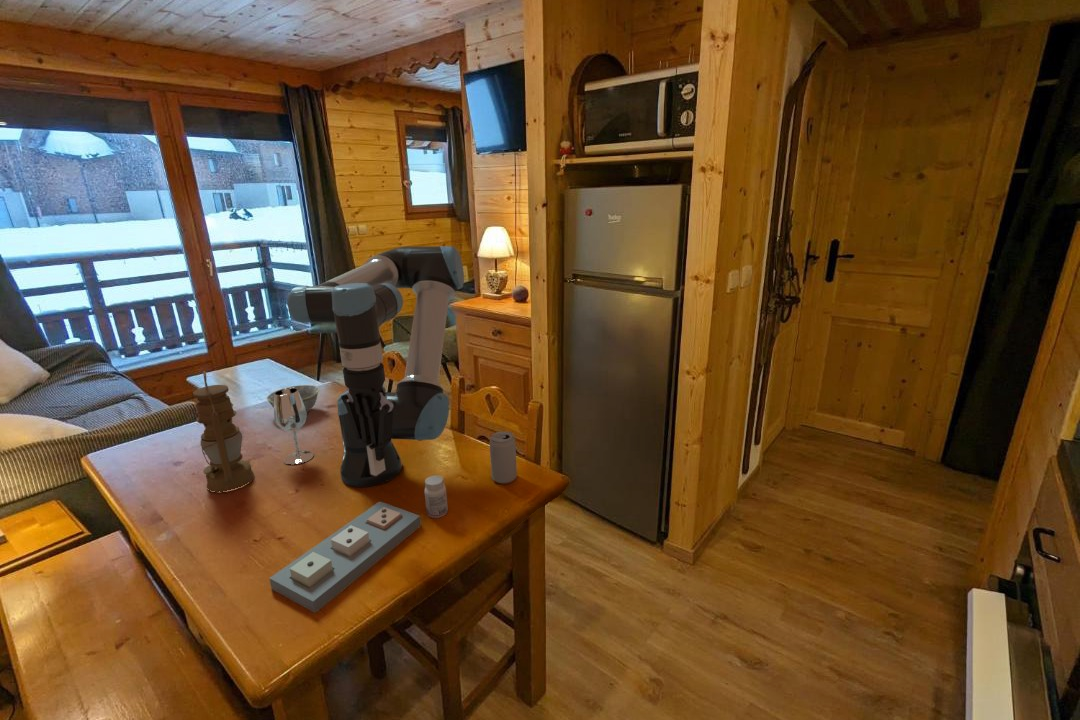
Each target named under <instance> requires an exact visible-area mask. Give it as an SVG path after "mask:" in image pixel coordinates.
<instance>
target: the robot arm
mask: <svg viewBox="0 0 1080 720" xmlns="http://www.w3.org/2000/svg"><path fill="white" fill-rule="evenodd" d="M464 273H465V272H464V266H463V261H462V258H461V254H460V252H459V250H458V249H457V248H456V247H454V246H446V245H444V246H443V245H440V246H434V245H433V246H409V245H408V246H400V247H395V248H392V249H389V250H386V251H383V252H380V253H378V254H375V255H373V256H371V257H369V258H368V259H367V260H366V261H365V263H364V264H363V265H361V266H359V267H357V268H353V269H351V270H349V271H346V272H345V273H343V274H340V275H338V276H336V277H333V278H331V279H329V280H327V281H325V282H321V283H320V284H317V285H313V286H308V285H304V286H296V287H293V288H292V289H291V290H290V291H289V294H288V295H287V299H286V301H287V302H286V303H287V309H288V313H289V315H290V317H291V318H292V319H293V320H294V321H296V322H298V323H310V324H317V323H320V324H321V323H324V324H329V323H330V324H331V323H332V324H333V323H334V324H335V329H336V333H337V338H338V347H339V351H340V352H339V354H340V359H341V365H342V366H343V368H342V373H343V380H344V385H345V387H346V388H347V389H348V390H346V391H344V392H343V393H341V395H339V396H338V398H337V402H336V404H337V415H338V421H339V427H340V431H341V439H342V443H343V456H342V462H341V465H340V470H339V471H340V477H341V482H343V483H344V484H346V485H348V486H350V487H354V488H369V487H373V486H374V487H376V486H378V485H379V486H380V485H381V484H384V483H387V482H389V481H390V480H392V479H395V477H397V476H398V475H399V474H400V472H401V470H402V460H401V457H400V454H399V453H398V451H397V449H396V447H395V445H394V443H393V440H413V441H416V440H417V441H419V442H420V441H428V440H429V441H433V440H436V439H438V438H439V437H440V436H441V435H442V433H443V432H444V430H445V428H446V425H447V421H448V419H449V412H450V400H449V396H447V394H446V393H444V387H443V386H442V385H441V384H440V383H439V378H440V371H441V366H442V365H441V363H442V355H443V347H444V340H445V334H446V333H445V332H446V331H445V330H446V324H447V317H448V309H449V308H448V307H449V301H451V300H452V299H454V298H455V296H456V290H460V289H462V288H463V286H464V284H465V274H464ZM399 289H411V290H412V292H413V293H414V295H415V296H416V299H415V306H414V313H413V318H412V325H411V330H410V331H411V332H410V338H409V339H410V340H409V345H408V351H407V359H406V367H405V372H404V378H402V379H401V380H400V381H398V382H397V383H396V389H395V392H394V391H393V392H387V391H386V390H387V389H386V388H385V385H384V384H385V381H386V374H385V373H386V372H385V366H384V364H383V363H382V362H383V361H384V357H383V356H384V355H383V350H382V343H381V342H382V341H381V335H380V326H381V325H383V324H384V323H386V322H388V321H390V320H392V319H394V318H395V317H396V316H397V315H398V314H399V313H400V312H401V311H402V309H403V306H404V298H403V295H402V292H401V291H400V290H399Z"/></svg>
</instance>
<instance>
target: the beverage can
mask: <svg viewBox="0 0 1080 720" xmlns="http://www.w3.org/2000/svg"><path fill="white" fill-rule="evenodd" d="M514 436H515V435H514V433H513V432H510V431H505V430H504V431H496V432H494V433H492V434H491V436H490V439H489V451H490V452H489V453H490V454H489V456H490V470H491V479H492V480H493V481H494V482H496V483H498V484H501V485H502V484H503V485H504V484H510V483H512V482H514V480H515V479H516V478H517V476H518V469H517V447H516V438H515V437H514Z"/></svg>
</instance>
